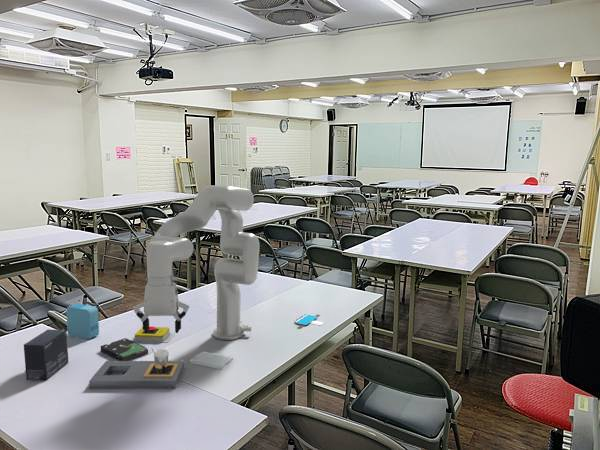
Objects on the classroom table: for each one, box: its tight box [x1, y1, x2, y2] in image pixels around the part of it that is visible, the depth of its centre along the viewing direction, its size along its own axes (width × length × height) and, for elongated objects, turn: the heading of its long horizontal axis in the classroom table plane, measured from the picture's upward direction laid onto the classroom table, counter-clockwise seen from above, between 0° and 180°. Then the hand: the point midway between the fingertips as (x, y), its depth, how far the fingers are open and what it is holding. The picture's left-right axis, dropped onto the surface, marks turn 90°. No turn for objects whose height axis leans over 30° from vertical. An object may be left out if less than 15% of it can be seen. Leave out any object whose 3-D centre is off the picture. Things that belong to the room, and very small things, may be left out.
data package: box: [66, 303, 100, 340], centre depth 176 cm, size 12×4×12 cm, turn 69°
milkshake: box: [151, 348, 170, 375], centre depth 144 cm, size 4×5×10 cm
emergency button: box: [130, 325, 176, 344], centre depth 177 cm, size 9×4×15 cm
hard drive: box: [189, 351, 234, 370], centre depth 158 cm, size 2×8×12 cm
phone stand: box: [294, 313, 325, 329], centre depth 200 cm, size 20×12×2 cm, turn 152°
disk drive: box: [100, 337, 149, 361], centre depth 163 cm, size 10×3×15 cm
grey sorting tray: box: [88, 360, 186, 390], centre depth 144 cm, size 26×14×3 cm, turn 94°
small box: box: [23, 329, 69, 381], centre depth 146 cm, size 13×7×12 cm, turn 178°
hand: (162, 331), depth 143 cm, fingers open, 9 cm apart
